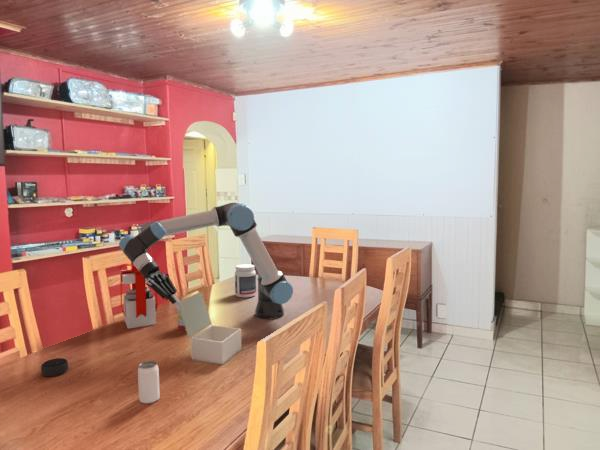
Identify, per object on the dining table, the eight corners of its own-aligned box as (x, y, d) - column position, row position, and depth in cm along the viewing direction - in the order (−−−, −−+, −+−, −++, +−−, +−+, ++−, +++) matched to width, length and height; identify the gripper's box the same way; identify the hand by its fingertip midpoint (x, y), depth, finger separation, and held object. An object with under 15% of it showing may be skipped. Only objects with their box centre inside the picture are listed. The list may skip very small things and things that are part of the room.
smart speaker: (49, 379, 162) (49, 369, 162) (36, 374, 167) (35, 363, 167) (73, 370, 170) (72, 360, 169) (60, 365, 174) (59, 355, 174)
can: (142, 394, 151) (140, 360, 149) (161, 394, 151) (160, 359, 150) (136, 404, 144) (135, 369, 143) (157, 403, 145) (155, 368, 144)
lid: (189, 337, 178) (188, 337, 178) (211, 324, 193) (210, 324, 193) (178, 302, 177) (177, 302, 178) (201, 291, 193) (200, 291, 193)
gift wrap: (124, 330, 213) (120, 268, 209) (120, 320, 228) (117, 262, 224) (160, 324, 220) (158, 264, 217) (154, 315, 236) (152, 259, 232)
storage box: (191, 359, 179) (191, 338, 178) (212, 345, 194) (211, 325, 193) (222, 364, 174) (222, 342, 173) (241, 349, 189) (241, 328, 188)
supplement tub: (260, 294, 275) (260, 265, 273) (247, 299, 264) (246, 268, 262) (244, 291, 282) (243, 262, 280) (230, 296, 271) (230, 266, 269)
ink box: (194, 331, 211) (193, 307, 209) (177, 330, 213) (176, 306, 211) (201, 325, 219) (201, 302, 218) (185, 324, 221) (184, 301, 220)
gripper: (151, 268, 198) (185, 309, 195) (131, 275, 186) (166, 318, 182) (161, 257, 196) (195, 298, 192) (141, 263, 184) (177, 306, 180)
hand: (181, 308), depth 187 cm, fingers closed
